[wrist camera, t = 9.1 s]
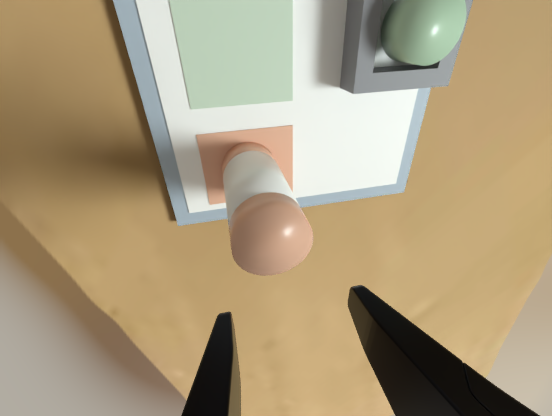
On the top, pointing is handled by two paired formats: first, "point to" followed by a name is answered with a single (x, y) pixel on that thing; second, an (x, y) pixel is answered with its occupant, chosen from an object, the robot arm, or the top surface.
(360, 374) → the top surface
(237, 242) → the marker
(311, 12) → the board with colored squares
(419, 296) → the top surface
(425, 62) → the button
